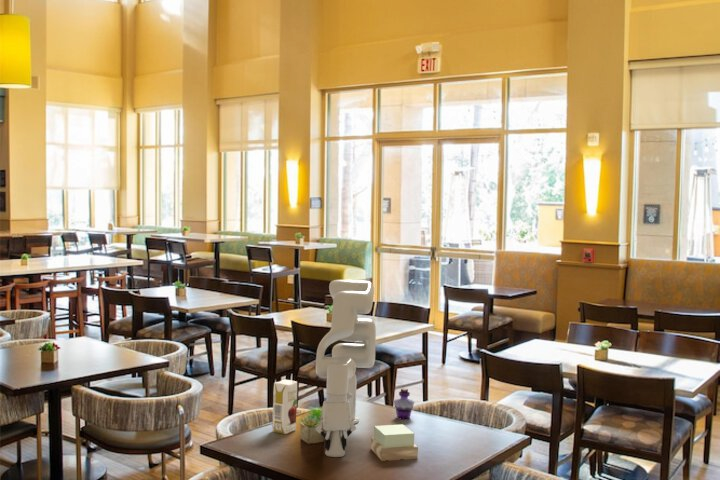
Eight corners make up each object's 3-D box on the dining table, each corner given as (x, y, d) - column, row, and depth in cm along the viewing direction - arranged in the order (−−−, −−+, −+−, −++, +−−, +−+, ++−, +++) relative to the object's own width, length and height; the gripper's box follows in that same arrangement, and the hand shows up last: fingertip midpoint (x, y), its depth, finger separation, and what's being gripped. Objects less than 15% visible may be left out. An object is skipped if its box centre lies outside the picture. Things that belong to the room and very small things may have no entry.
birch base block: (370, 449, 264) (371, 437, 264) (405, 447, 268) (405, 435, 268) (381, 462, 252) (382, 449, 251) (417, 459, 255) (417, 447, 255)
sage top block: (373, 438, 263) (374, 426, 263) (402, 436, 267) (402, 424, 266) (384, 448, 253) (384, 435, 252) (413, 446, 256) (414, 433, 256)
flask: (344, 458, 253) (346, 429, 252) (324, 457, 253) (325, 428, 252) (345, 451, 260) (346, 423, 260) (325, 450, 260) (326, 422, 260)
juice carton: (269, 432, 280) (271, 382, 279) (282, 426, 287) (283, 378, 287) (286, 435, 276) (287, 385, 275) (298, 429, 284) (300, 381, 283)
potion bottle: (403, 413, 312) (404, 385, 312) (418, 418, 305) (419, 389, 305) (388, 416, 307) (389, 388, 306) (402, 421, 300) (403, 392, 300)
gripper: (357, 394, 261) (355, 444, 262) (311, 395, 257) (309, 447, 258) (363, 399, 254) (361, 451, 255) (315, 401, 250) (313, 454, 250)
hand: (335, 448), depth 256 cm, fingers closed on flask, 4 cm apart
